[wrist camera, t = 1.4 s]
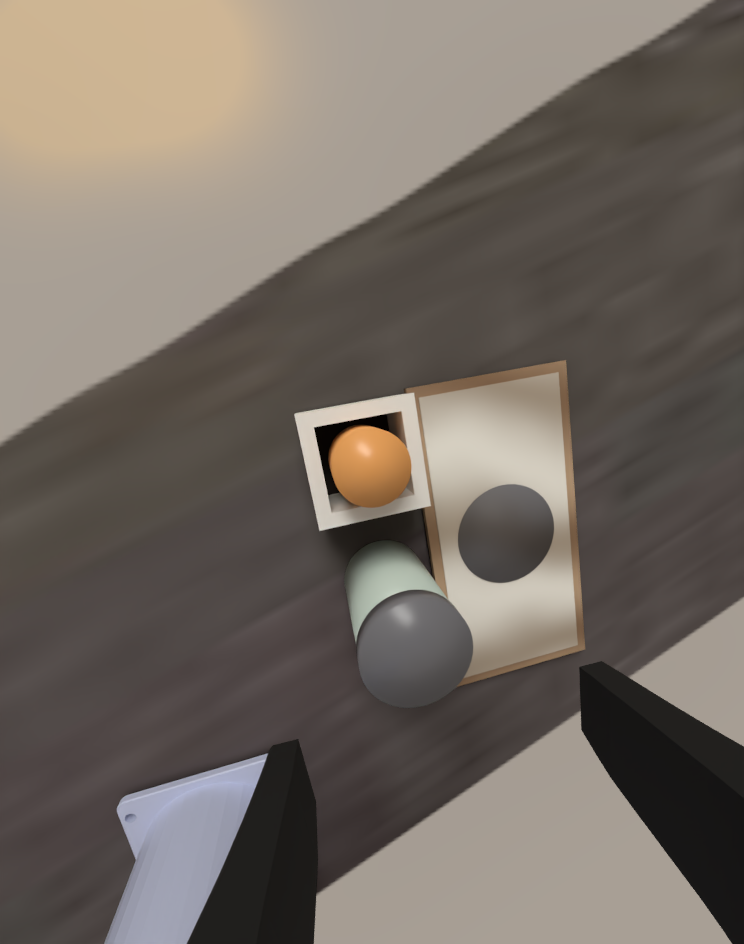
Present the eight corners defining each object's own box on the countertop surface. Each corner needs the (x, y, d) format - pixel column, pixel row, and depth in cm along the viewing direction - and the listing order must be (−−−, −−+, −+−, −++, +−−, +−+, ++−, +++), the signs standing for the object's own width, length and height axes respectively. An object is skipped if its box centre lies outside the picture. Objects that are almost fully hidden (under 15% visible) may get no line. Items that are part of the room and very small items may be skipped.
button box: (411, 489, 18) (430, 506, 15) (317, 510, 17) (319, 531, 15) (396, 395, 17) (414, 392, 14) (297, 412, 17) (294, 414, 14)
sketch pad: (580, 644, 21) (587, 651, 21) (449, 682, 20) (452, 690, 20) (560, 361, 18) (568, 359, 18) (403, 389, 17) (407, 388, 17)
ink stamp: (428, 604, 19) (479, 689, 13) (351, 624, 19) (370, 722, 13) (416, 530, 18) (465, 588, 13) (335, 549, 18) (348, 618, 12)
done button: (397, 481, 16) (416, 498, 13) (335, 495, 16) (341, 515, 13) (387, 419, 16) (404, 421, 13) (322, 431, 15) (325, 437, 12)
